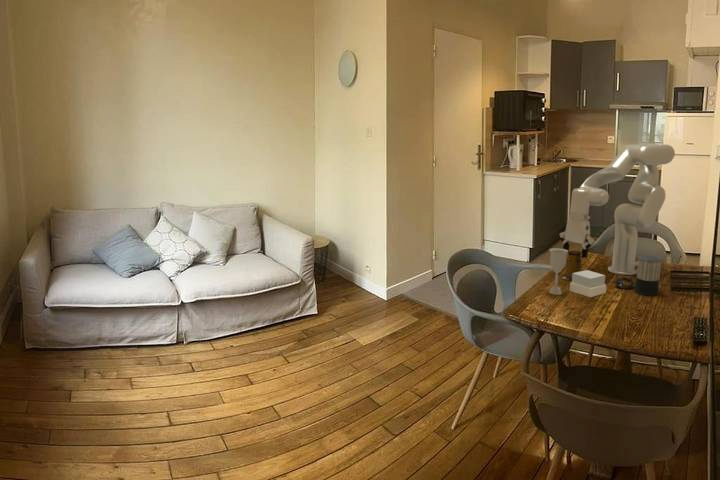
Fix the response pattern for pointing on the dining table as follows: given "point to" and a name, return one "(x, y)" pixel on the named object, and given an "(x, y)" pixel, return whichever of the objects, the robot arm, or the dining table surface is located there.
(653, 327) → the dining table surface
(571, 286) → the tower base
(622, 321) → the dining table surface
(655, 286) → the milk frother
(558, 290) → the chalice
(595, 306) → the dining table surface
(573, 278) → the tower top
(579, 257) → the condiment
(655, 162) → the robot arm
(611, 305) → the dining table surface
